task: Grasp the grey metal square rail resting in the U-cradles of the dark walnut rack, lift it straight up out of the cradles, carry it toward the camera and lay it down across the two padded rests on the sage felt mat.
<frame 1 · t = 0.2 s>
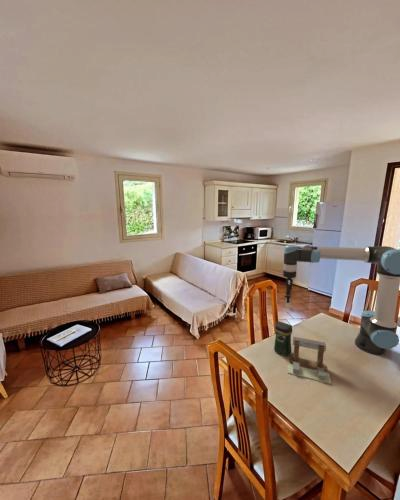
hand: (288, 303, 139), 28 cm above the table, fingers open, 13 cm apart
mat: (308, 373, 116), on the table
coffee jar: (282, 351, 135), on the table
rack: (307, 364, 124), on the table
rail: (308, 346, 122), point 11 cm above the table, touching rack
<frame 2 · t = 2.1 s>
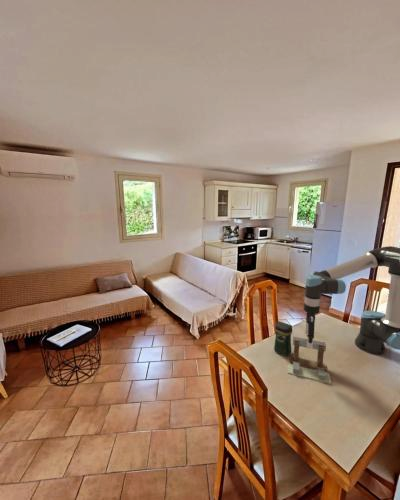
hand: (308, 340, 121), 15 cm above the table, fingers open, 13 cm apart
nothing on the table moved.
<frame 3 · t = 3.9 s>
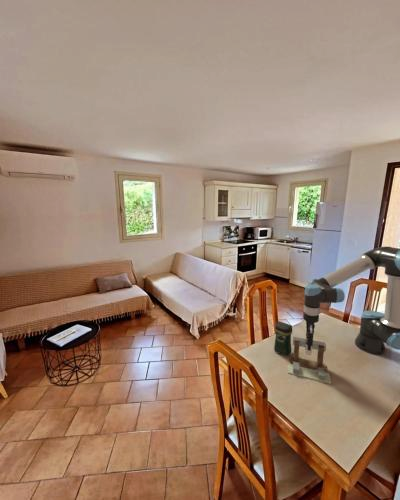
hand: (308, 352, 122), 7 cm above the table, fingers closed on rail, 3 cm apart
rail: (308, 346, 122), point 11 cm above the table, touching gripper, rack
everything else where it was.
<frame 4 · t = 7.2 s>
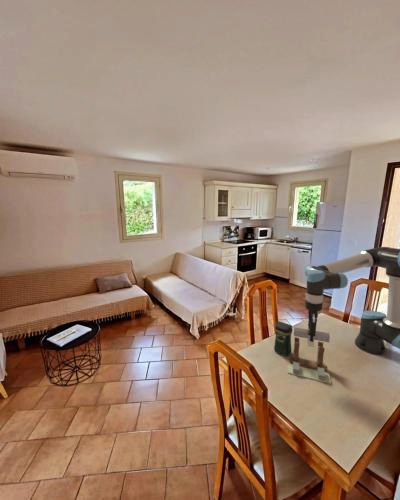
hand: (310, 343, 113), 17 cm above the table, fingers closed on rail, 3 cm apart
rail: (310, 337, 113), point 21 cm above the table, touching gripper
everything else where it was.
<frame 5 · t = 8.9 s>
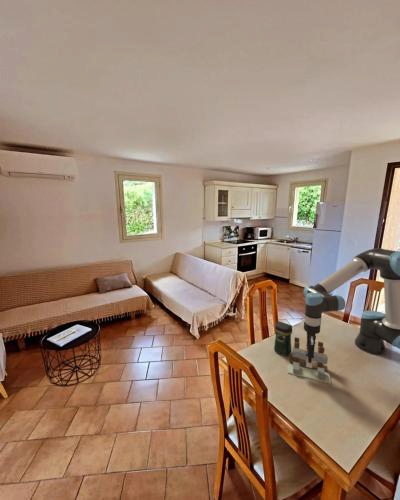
hand: (308, 364, 115), 6 cm above the table, fingers closed on rail, 3 cm apart
rail: (309, 358, 115), point 9 cm above the table, touching gripper
everything else where it was.
when the fingers open (2 cm above the table, at t = 10.5 s): rail drops 2 cm, resting on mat.
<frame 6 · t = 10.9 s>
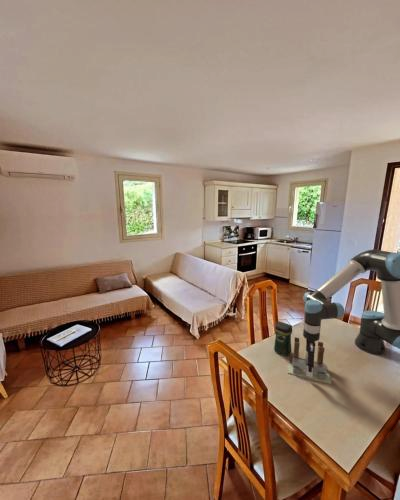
hand: (308, 369, 116), 3 cm above the table, fingers open, 9 cm apart
rail: (308, 368, 116), point 3 cm above the table, touching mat
everything else where it was.
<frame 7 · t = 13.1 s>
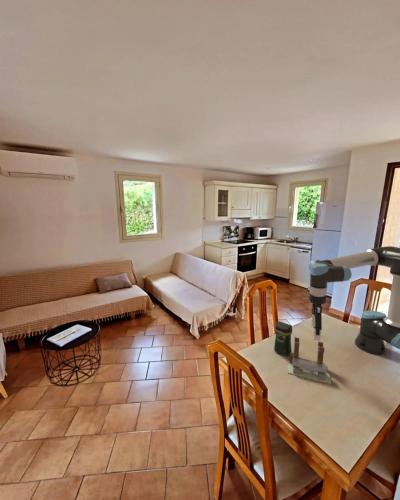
hand: (315, 332, 114), 22 cm above the table, fingers open, 13 cm apart
nothing on the table moved.
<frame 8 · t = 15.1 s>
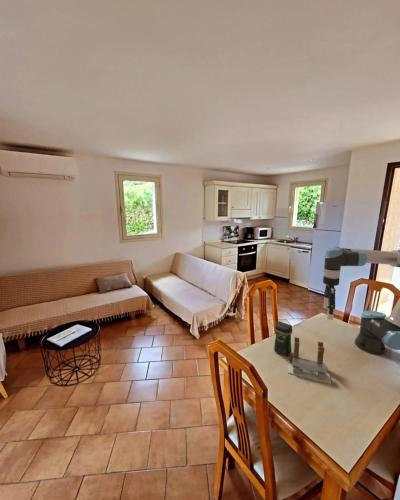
hand: (328, 313, 121), 29 cm above the table, fingers open, 13 cm apart
nothing on the table moved.
at the end: rail 0.0 cm off-centre on the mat, point 3.1 cm above the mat's base; rail tilted 0°; rail touching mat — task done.
